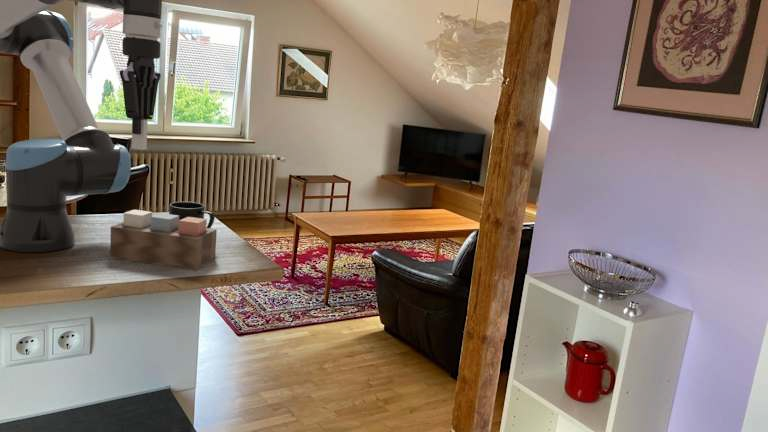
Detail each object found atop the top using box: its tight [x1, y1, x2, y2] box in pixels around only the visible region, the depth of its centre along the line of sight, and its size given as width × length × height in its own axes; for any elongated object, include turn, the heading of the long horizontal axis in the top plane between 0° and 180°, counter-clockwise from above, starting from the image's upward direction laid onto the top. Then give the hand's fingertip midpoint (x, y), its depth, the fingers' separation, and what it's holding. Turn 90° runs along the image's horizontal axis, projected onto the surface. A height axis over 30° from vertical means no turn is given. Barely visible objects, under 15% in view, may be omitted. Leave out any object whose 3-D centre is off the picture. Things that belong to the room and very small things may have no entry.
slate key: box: [151, 212, 179, 232], centre depth 142 cm, size 4×4×7 cm
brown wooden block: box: [109, 221, 217, 271], centre depth 142 cm, size 20×10×7 cm, turn 82°
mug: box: [168, 201, 216, 229], centre depth 155 cm, size 8×12×10 cm
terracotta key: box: [179, 217, 208, 236], centre depth 141 cm, size 4×4×7 cm
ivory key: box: [122, 209, 153, 228], centre depth 142 cm, size 4×4×7 cm
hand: (139, 148), depth 139 cm, fingers closed
